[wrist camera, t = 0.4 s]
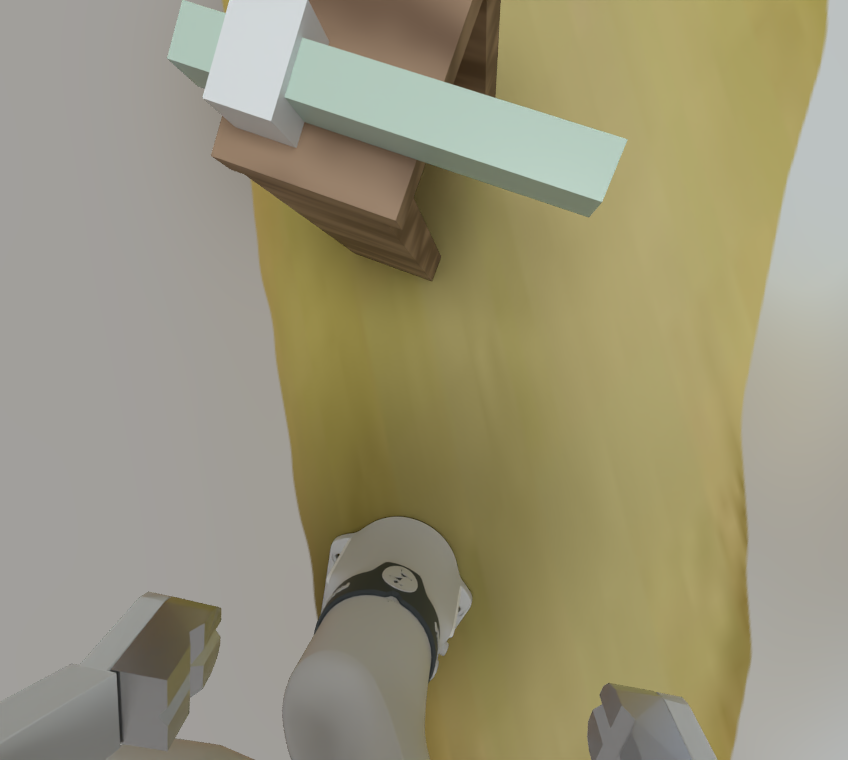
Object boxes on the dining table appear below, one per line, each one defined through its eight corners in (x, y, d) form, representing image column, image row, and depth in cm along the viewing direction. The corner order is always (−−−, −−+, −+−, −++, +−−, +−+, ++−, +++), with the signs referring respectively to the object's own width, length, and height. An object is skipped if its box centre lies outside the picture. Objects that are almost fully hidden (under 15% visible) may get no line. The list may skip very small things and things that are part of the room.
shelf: (440, 284, 50) (395, 220, 24) (347, 250, 51) (210, 155, 25) (503, 113, 47) (528, -162, 22) (403, 81, 48) (316, -215, 23)
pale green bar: (577, 244, 23) (592, 229, 20) (190, 111, 25) (152, 81, 22) (622, 133, 22) (644, 101, 19) (219, 7, 24) (183, -39, 22)
